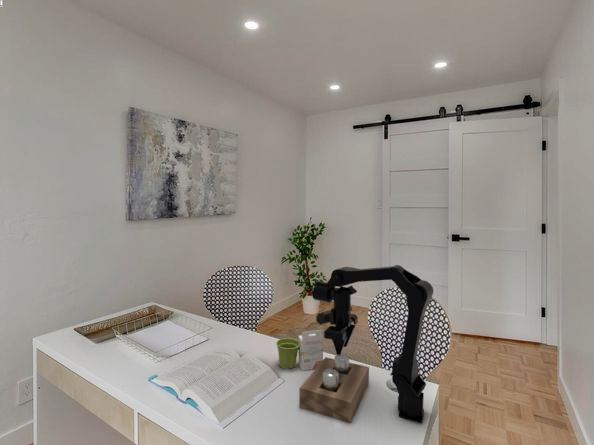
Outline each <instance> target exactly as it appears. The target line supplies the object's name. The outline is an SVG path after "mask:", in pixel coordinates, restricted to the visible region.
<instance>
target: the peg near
mask: <svg viewBox="0 0 594 445" xmlns="http://www.w3.org/2000/svg"><path fill="white" fill-rule="evenodd" d="M338 379H339V373H338V371H336V370H334V369H326V370H324V371H323V389H325V390H328V391H332V392H337V391H338Z"/></svg>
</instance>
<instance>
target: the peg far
mask: <svg viewBox="0 0 594 445" xmlns="http://www.w3.org/2000/svg"><path fill="white" fill-rule="evenodd" d="M334 359H335V370H336V371H338V373H341V374H345V375H348V373H349V363H350V356H348V355H346V354H343V353H341V354H340V355H337V354H335V355H334Z"/></svg>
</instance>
